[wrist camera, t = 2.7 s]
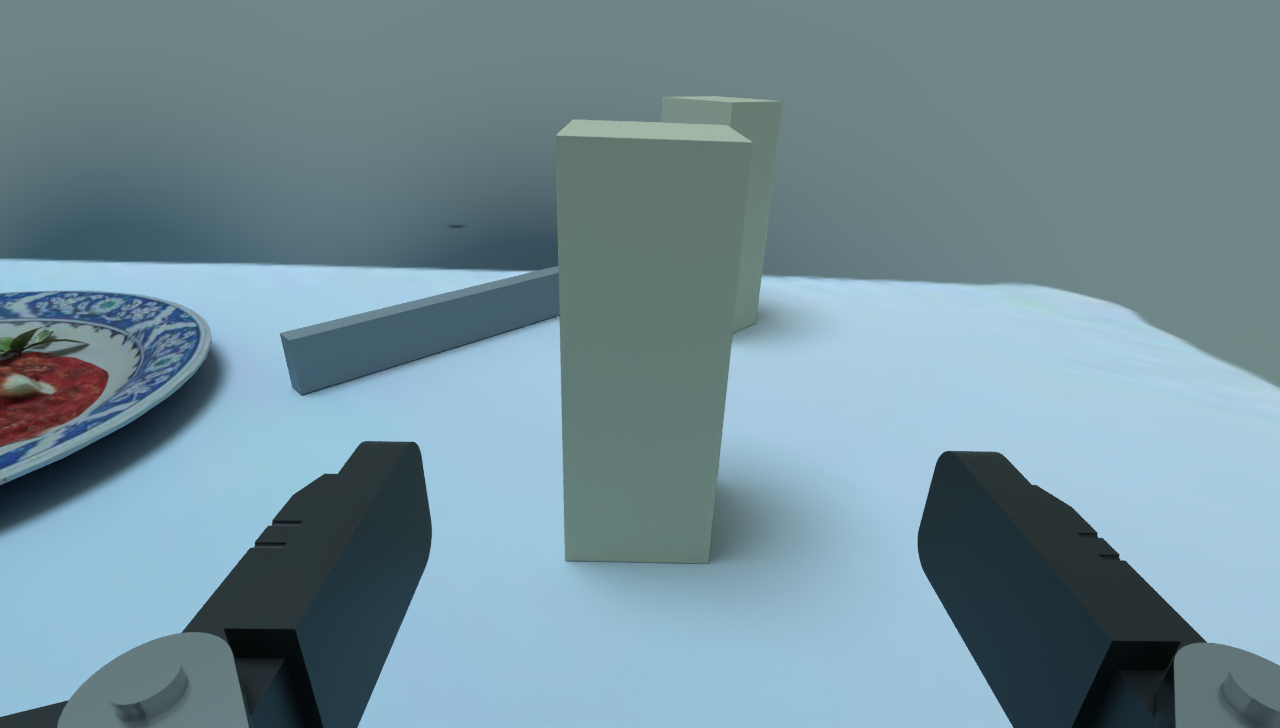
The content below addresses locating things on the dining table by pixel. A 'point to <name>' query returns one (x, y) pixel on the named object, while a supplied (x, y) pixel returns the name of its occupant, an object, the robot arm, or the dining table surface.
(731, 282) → the carton
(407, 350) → the rail
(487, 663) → the dining table surface
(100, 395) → the ceramic plate
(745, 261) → the faced carton
